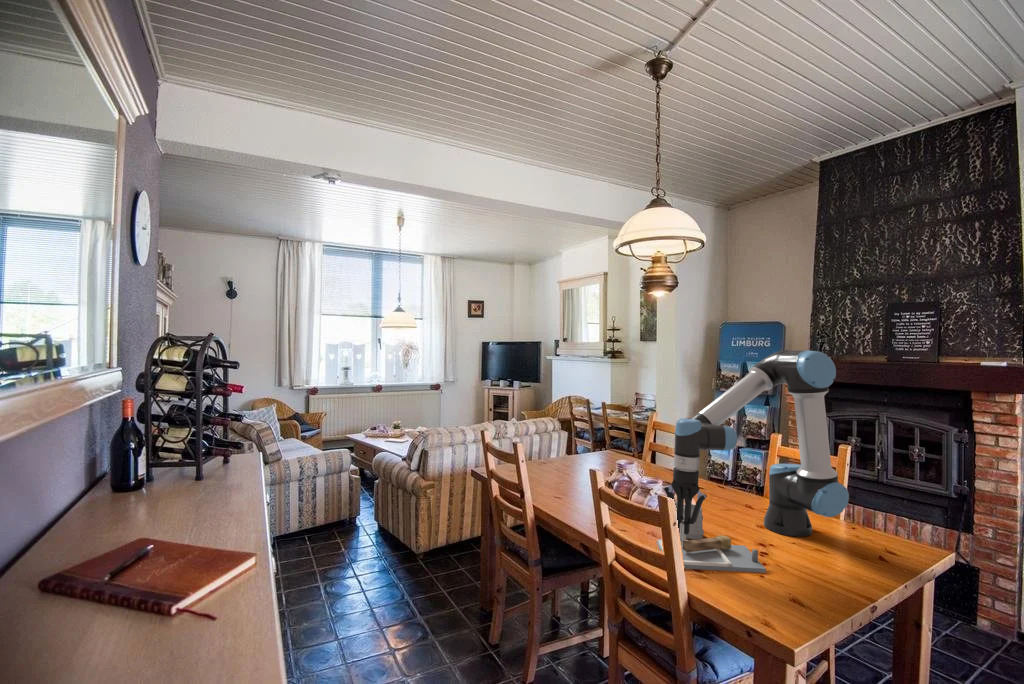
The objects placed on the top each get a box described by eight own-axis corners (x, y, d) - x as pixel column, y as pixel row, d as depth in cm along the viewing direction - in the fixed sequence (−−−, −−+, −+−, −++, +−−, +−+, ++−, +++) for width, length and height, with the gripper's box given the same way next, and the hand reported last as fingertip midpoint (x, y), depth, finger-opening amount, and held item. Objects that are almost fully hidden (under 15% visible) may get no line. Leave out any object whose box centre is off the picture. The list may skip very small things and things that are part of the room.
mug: (708, 539, 163) (708, 503, 163) (677, 541, 161) (677, 505, 161) (695, 530, 171) (696, 496, 171) (665, 532, 169) (665, 498, 169)
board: (744, 549, 155) (745, 535, 155) (765, 572, 140) (766, 557, 140) (656, 545, 158) (656, 531, 158) (666, 567, 142) (667, 552, 142)
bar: (724, 542, 155) (724, 534, 155) (734, 548, 151) (734, 540, 151) (680, 547, 151) (680, 539, 151) (689, 553, 147) (689, 545, 147)
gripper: (661, 466, 152) (658, 540, 152) (703, 475, 144) (699, 553, 144) (670, 462, 158) (667, 534, 158) (710, 470, 150) (706, 545, 150)
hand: (682, 543), depth 151 cm, fingers closed
